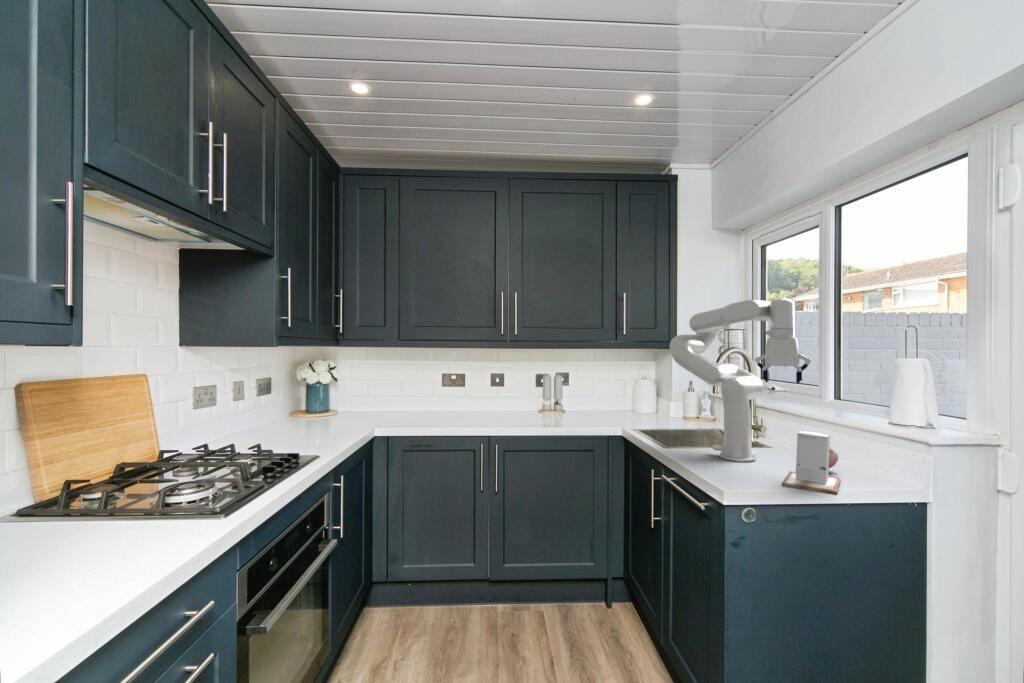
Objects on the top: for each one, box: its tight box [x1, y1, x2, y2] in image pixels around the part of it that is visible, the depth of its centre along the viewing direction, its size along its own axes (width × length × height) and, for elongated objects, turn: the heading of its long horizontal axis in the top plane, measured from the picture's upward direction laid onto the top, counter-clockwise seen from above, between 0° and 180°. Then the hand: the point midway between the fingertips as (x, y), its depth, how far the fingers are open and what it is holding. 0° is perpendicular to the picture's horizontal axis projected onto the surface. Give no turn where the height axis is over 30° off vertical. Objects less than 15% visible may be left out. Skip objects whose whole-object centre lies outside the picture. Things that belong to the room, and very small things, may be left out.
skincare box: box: [795, 430, 831, 484], centre depth 146 cm, size 8×6×15 cm
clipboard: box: [781, 470, 841, 495], centre depth 146 cm, size 14×17×2 cm
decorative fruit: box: [829, 446, 839, 469], centre depth 161 cm, size 9×8×10 cm
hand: (782, 382), depth 164 cm, fingers open, 9 cm apart
